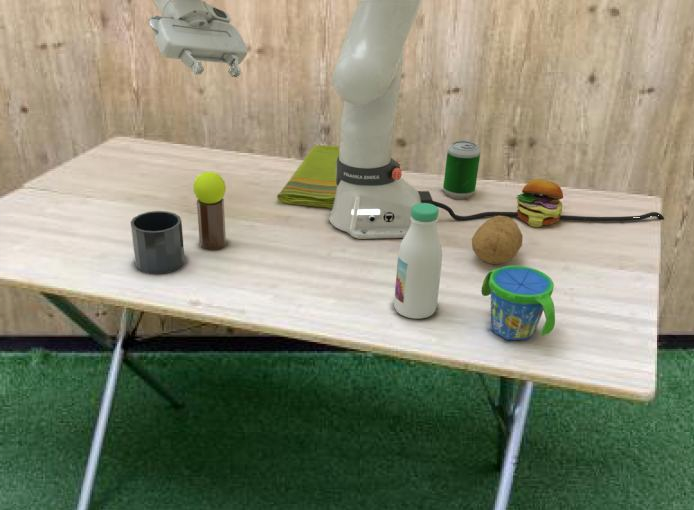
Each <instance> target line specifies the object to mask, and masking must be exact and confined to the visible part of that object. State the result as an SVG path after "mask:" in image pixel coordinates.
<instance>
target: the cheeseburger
mask: <svg viewBox="0 0 694 510" xmlns="http://www.w3.org/2000/svg"><path fill="white" fill-rule="evenodd" d="M515 198H516V199H517V200H516V203H517V207H516V208H517V210H516V212H517V213H518V217H517V218H519V219H520V220H521V221H523V222H525V223H527V224H528V225H529V226H530V227H533V228H540V227H542V226H549V225H552V224H555V223H557V222H559V221H560V220H559V218H560V215H562V214H563V203H562V201H561V200H562V199H564V193H563V190H562V188H561V186H560V185H559V184H558V183H556V182H554V181H550V180H548V179H540V178H535V179H534V178H533V179H531V180H530V181H528V182H527V183H526V184H525V185H524V186H523V188H522V190H521V193H520V194H517V195H516V197H515Z"/></svg>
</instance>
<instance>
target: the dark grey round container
mask: <svg viewBox="0 0 694 510" xmlns="http://www.w3.org/2000/svg"><path fill="white" fill-rule="evenodd" d="M130 229H131V237H132V245H133V254H134V261H135V267H136V268H137V269H138V270H139V271H140V272H143V273H146V274H151V275H163V274H168V273H173V272H175V271H177V270H179V269H181V268H182V267H183V266H184V264H185V259H186V258H185V248H184V236H183V235H184V233H183V224H182V218H181V216H179V215H178V214H176V213H174V212H171V211H166V210H152V211H145V212H142V213H139V214H138V215H136V216H134V217H133V218H132V219H131V220H130Z"/></svg>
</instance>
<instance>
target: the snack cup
mask: <svg viewBox="0 0 694 510" xmlns="http://www.w3.org/2000/svg"><path fill="white" fill-rule="evenodd" d="M554 286H555V284H554V281H553V279H552V278H551V277H550V276H549V275H548V274H546V273H545V272H543V271H541V270H539V269H536V268H533V267H529V266H524V265H506V266H502V267H498V268H495V269H492V270H490V271H488V272H487V273H486V275H485V277H484V279H483V282H482V285H481V290H480V291H481V295H482V296H483V297H487V296H490V315H489V316H490V329H491V330H492V331H493V332H494V333H495V334H496V335H498V336H499V337H502V338H504V339H505V340H507V341H508V340H514V341H522V340H528V339H530V337H532V336H533V334H535V332H536V330H537V327H538V325H539V323H540V320H541V317H542V316H543V314H544V317H545V322H544V325H543V327H542V330H541V331H540V336H546V335H548V334H550V333H551V332H552V331H553V330H554V329H555V325H556V312H555V311H556V309H555V305H554V299H553V298H552V294H553V292H554V288H555V287H554Z"/></svg>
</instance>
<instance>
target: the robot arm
mask: <svg viewBox="0 0 694 510" xmlns="http://www.w3.org/2000/svg"><path fill="white" fill-rule="evenodd" d="M152 2H153V4H154V5H155V7H156V8H157V9H158V10H159V11H160V13H161V16H160V15H152V16H151V17H150V18H149V19H148V25H149V27H150V29H151V31H153V33H152V34H153V39H154V42H155V43H156V46H157V48H158V51H159V52H160V54H161V55H162V56H163V57H165V58H167V59H173V60H174V59H175V60H180V61H181V63H182V64H184V65H185V66H186V67H188V68H189V69H190V70H191V72H192V74H193V75H195V76H196V75H197V76H198V75H199V76H201V75H202V74H203V72H204V70H205V67H204V66H203V64H202V62H210V63H220V64H227V66H229V67H230V68H229V69H228V70H227V72H228V74H229V75H230V77H231V78H239V77H240V76H241V73H242V71H241V69H240V67H239V65H240V64H242V63H243V62H244V60H245V58H246V56H247V54H248V51H249V49H248V46H247V44H246V42H245V41H244V39H243V37H242V36H241V34H240V32H239V31H238V29H237V28H236V27H235V26H234V25H233V24H232V23H231V21H232V18H231V16H230V14H229V13H228V12H226V11H224V10H222V9H219V8H217V7H215V6H212V5H211V4H210V3H208V2H206V1H204V0H152ZM421 3H422V0H359V1H358V3H357V6H356V9H355V11H354V14H353V16H352V19H351V22H350V23H349V27H348V30H347V32H346V35H345V37H344V40H343V44H342V46H341V48H340V52H339V54H338V57H337V60H336V63H335V65H334V68H333V74H332V82H333V87H334V90H335V92H336V93H337V95H338V96H339V97H340V98H341V99H342V100H343V101H344V104H343V108H342V113H341V117H340V121H339V141H338V146H339V156H338V158H337V162H336V184H337V188H336V194H335V200H334V204H333V208H331V211H330V213H329V217H328V221H329V223H330V224H331V225H332V226H333V227H334V228H337V229H338V230H340V231H343V232H345V233H348V235H350V236H351V237H352V238H355V239H356V240H357V239H358V240H362V239H363V240H365V239H366V240H367V239H370V240H371V239H404V237H405V235H406V234H407V232H408V230H409V228H410V225H411V222H412V221H411V219H410V218H411V208H412V206H413V205H415V204H418V203H429V204H433V205H435V206H436V207H437V208H440V209H442V210H445V211H447V213H448V214H449V216H450V217H451V218H452V219H454V220H455V221H456V220H457V221H472V220H478V219H481V218H487V217H495V216H498V215H499V216H507V217H509V218H511V217H514V218H519V217H518V213H517V211H484V212H478V213H475V214H470V215H465V216H464V215H458V214H456V213H455V211H454V210H453V209H452V208H451V207H450V206H449V205H446V204H444V203H442V202H439V201H435V200H433V197H432V195H431V193H430V191H429V190H418V189H416V188H415V187H414V186H413V185H411V184H410V183H408V181H406V180H404V178H403V177H402V173H403V171H402V169H401V164H400V162H399V161H400V160H399V159H398V158H396V160H395V159H394V158H393V157H392V149H393V136H394V135H393V134H394V124H395V118H396V111H397V106H398V100H399V95H400V94H399V93H400V87H401V80H402V73H403V65H404V64H403V63H404V58H405V57H404V46H405V43H406V41H407V39H408V37H409V35H410V31H411V29H412V26H413V24H414V22H415V19H416V17H417V14H418V13H419V9H420V5H421ZM658 215H659V216H658ZM650 216H652V217H650ZM633 217H640V218H633ZM653 217H655V218H657V219H658V220H662V221H664V220H665V217H664V215H662V213H660V212H657V211H651V212H647V213H645V214H641V215H629V216H583V215H567V214H566V215H564V214H560V218H559V221H578V222H632V221H643V220H645V219H650V218H653Z"/></svg>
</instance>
